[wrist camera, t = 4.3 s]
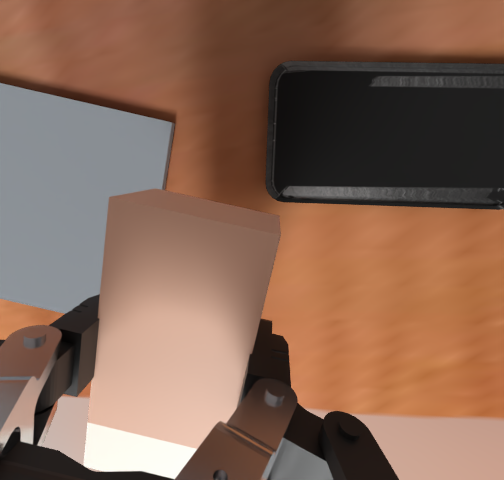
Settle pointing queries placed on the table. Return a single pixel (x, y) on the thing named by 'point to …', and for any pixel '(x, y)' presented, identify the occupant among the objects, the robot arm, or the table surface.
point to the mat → (67, 190)
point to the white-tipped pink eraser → (173, 325)
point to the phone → (387, 134)
